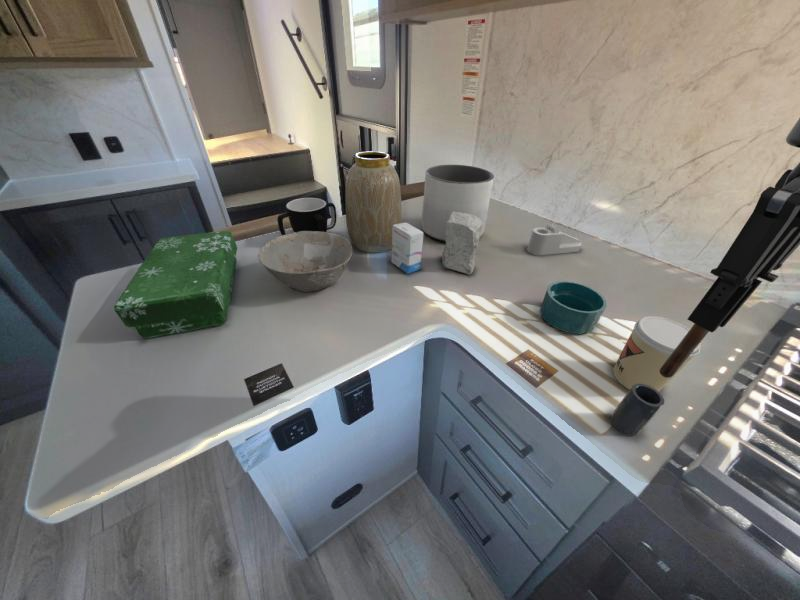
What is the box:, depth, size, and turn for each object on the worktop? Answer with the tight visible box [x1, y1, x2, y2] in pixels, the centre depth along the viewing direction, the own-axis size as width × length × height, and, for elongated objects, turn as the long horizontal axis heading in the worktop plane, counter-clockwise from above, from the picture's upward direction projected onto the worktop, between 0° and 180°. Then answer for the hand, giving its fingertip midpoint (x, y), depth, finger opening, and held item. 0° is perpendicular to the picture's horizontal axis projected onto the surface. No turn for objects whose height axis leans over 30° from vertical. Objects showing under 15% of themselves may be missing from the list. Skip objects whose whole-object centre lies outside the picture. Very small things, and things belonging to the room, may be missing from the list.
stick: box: [659, 323, 710, 378], centre depth 39 cm, size 2×2×20 cm
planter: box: [421, 164, 495, 243], centre depth 107 cm, size 22×22×20 cm
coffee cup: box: [613, 315, 702, 393], centre depth 57 cm, size 9×9×12 cm
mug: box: [277, 197, 337, 236], centre depth 101 cm, size 16×16×12 cm
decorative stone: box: [441, 211, 483, 276], centre depth 89 cm, size 10×9×15 cm
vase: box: [344, 151, 402, 254], centre depth 96 cm, size 17×17×27 cm
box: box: [113, 230, 238, 339], centre depth 76 cm, size 32×18×10 cm, turn 17°
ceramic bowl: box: [257, 231, 353, 293], centre depth 81 cm, size 22×23×10 cm
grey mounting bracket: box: [526, 223, 582, 256], centre depth 101 cm, size 6×18×8 cm, turn 103°
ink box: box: [391, 222, 424, 275], centre depth 89 cm, size 9×5×12 cm, turn 36°
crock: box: [609, 384, 665, 437], centre depth 50 cm, size 4×4×8 cm
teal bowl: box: [539, 280, 607, 335], centre depth 73 cm, size 12×12×6 cm
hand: (705, 322), depth 39 cm, fingers closed on stick, 1 cm apart
